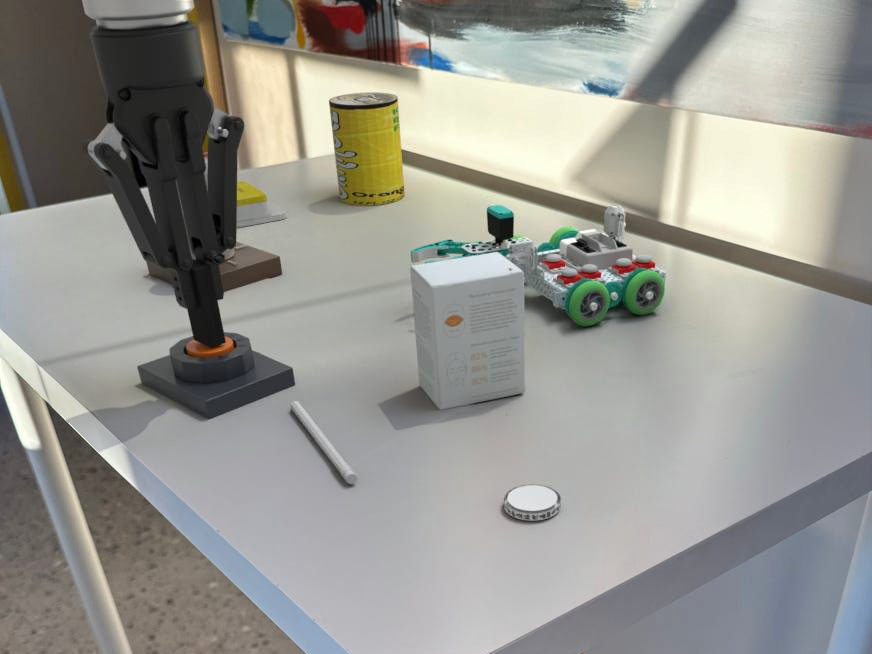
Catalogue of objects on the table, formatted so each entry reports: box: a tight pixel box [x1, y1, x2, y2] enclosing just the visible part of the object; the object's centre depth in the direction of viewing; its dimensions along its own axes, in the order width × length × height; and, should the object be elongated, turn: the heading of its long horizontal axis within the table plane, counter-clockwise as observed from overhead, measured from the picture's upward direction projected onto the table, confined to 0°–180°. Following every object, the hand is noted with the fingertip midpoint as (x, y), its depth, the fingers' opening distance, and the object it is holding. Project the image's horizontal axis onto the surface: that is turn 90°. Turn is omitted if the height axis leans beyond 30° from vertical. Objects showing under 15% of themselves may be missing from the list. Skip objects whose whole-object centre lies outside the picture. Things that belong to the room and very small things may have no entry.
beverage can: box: [328, 91, 405, 206], centre depth 130 cm, size 9×9×12 cm
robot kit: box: [410, 204, 667, 327], centre depth 98 cm, size 19×25×9 cm
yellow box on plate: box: [237, 180, 287, 229], centre depth 126 cm, size 9×4×15 cm
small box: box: [409, 252, 526, 411], centre depth 81 cm, size 8×6×10 cm
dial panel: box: [145, 241, 283, 293], centre depth 109 cm, size 12×10×2 cm
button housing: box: [136, 331, 296, 420], centre depth 85 cm, size 11×9×4 cm
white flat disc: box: [503, 483, 562, 522], centre depth 68 cm, size 4×4×1 cm
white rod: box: [290, 400, 358, 485], centre depth 77 cm, size 1×1×15 cm
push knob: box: [186, 336, 234, 358], centre depth 85 cm, size 4×4×2 cm
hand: (209, 340), depth 84 cm, fingers closed
